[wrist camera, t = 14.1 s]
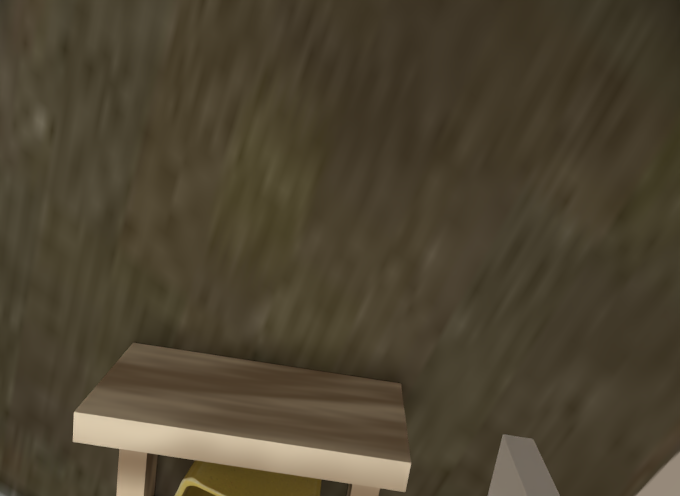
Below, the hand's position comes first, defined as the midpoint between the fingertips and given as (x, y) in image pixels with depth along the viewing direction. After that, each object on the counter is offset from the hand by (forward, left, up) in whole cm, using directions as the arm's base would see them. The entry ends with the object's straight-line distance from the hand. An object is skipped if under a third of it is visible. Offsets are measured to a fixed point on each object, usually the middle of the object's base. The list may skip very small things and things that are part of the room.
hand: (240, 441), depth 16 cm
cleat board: (+19, -2, -29) cm, 35 cm away
